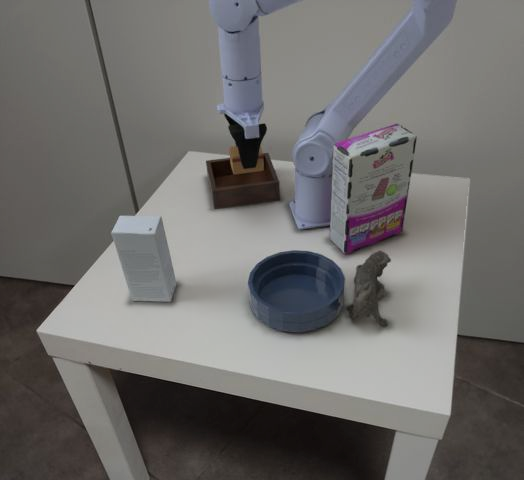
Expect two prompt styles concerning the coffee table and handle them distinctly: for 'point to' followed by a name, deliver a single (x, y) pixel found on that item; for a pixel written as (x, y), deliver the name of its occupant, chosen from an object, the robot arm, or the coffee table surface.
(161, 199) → the coffee table surface
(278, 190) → the box
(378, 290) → the dog figurine
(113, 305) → the coffee table surface
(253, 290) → the bowl
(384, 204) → the candy bar box
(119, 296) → the coffee table surface
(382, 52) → the robot arm
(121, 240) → the cosmetic box
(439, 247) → the coffee table surface
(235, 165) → the light brown rectangular block
